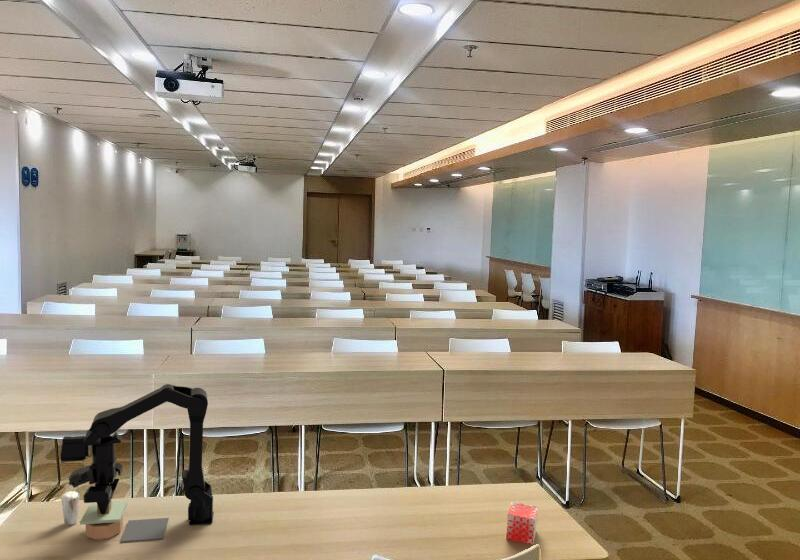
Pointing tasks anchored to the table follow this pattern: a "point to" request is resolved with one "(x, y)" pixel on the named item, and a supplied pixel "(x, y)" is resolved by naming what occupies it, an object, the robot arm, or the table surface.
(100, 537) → the bowl
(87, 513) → the cover board
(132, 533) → the mat
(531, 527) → the puzzle cube
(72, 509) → the milkshake
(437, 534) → the table surface
